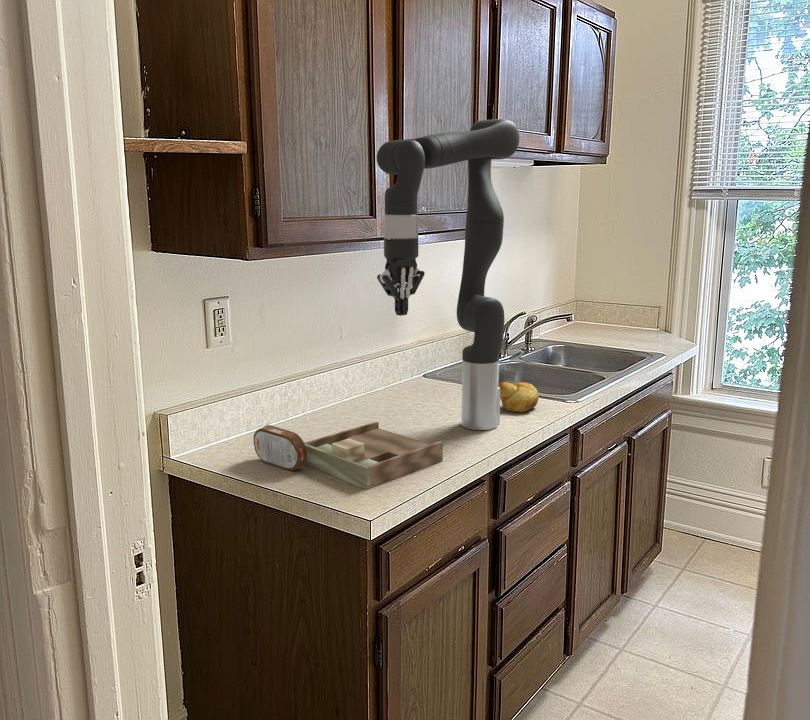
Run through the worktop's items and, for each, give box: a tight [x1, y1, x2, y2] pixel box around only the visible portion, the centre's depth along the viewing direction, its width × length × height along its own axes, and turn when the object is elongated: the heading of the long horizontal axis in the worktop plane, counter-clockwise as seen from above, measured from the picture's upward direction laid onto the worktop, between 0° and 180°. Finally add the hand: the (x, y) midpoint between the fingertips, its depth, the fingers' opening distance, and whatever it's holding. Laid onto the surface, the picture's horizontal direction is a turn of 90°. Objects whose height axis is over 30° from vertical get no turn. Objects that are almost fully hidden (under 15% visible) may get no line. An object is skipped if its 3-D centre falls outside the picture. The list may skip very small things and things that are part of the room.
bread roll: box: [498, 381, 540, 413], centre depth 209 cm, size 13×10×8 cm
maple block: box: [331, 439, 365, 461], centre depth 163 cm, size 5×5×3 cm
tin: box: [253, 424, 307, 472], centre depth 166 cm, size 15×3×8 cm, turn 51°
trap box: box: [304, 421, 444, 490], centre depth 168 cm, size 23×22×4 cm
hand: (401, 314), depth 168 cm, fingers closed
